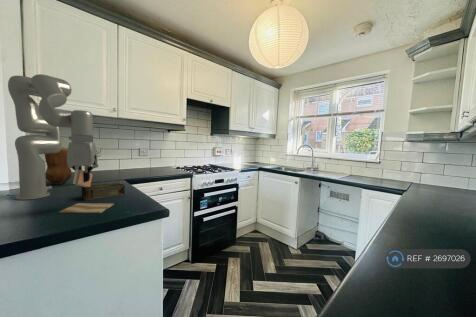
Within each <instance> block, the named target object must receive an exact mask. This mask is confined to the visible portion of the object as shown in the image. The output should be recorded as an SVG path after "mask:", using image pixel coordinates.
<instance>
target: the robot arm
mask: <svg viewBox="0 0 476 317" xmlns="http://www.w3.org/2000/svg"><path fill="white" fill-rule="evenodd" d="M7 89H8V93H9V95H10V97H11V99H12V101H13V104H14V111H15V118H16V125H17V128H18V129H19V131H20V132H23V133H27V134H29V135H27V134H26V135H21V136H18V137H16V138H15V141H14V146H15V149H16V150H15V151H16V154H17V160H18V161H17V162H18V180H19V185H18V186H19V194H17V195H15V197H14V198H15V200H17V201H18V200H19V201H21V200H23V201H24V200H25V201H27V200H36V199H41V198H46V197H49V196H51V192H50V191H49V190H51V189H52V188H53V186H52V185H47V183H46V182H47V181H46V180H47V179H46V174H45V173H46V161H45V159H43V157H41V156H40V155H45V154H54V153H58V152H60V150H61V147H63V146H62V145H63V144H62V137H61V136H62V135H61V128H68V129H70V132H71V134H70V136H68V140H69V141H70V142H69V143H68V147H67V164H68V165H67V166H68V167H69V168H70V169H71V170H74V172H75V171H76V170H83V168H84V170H83V171H84V172H85V173H83V175H84V182H87V181H89V179H90V173H91V172H92V171H93V170H94V169H96V168H99V164H98V153H97V147H96V143H94V116H93V113H92V112H91V111H88V110H82V109H81V110H80V109H75V110H74V109H73V110H67V109H61V108H59V107H62V106H64V105H65V104H67V100H68V97H70V95H71V94H72V91H73V90H72V86H71V84H70V83H69V82H68V81H67V80H65V79H62V78H58V77H55V76H50V75H47V74H35V75H33V76H32V77H31V76H30V77H29V76H23V75H12V76H10V77H9V79H8V81H7ZM31 96H32V97H31ZM33 97H39V98H40V101H39V103H38V102H36V100H35V99H33ZM32 134H34V135H32ZM35 134H44V135H35Z"/></svg>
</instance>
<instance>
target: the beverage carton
mask: <svg viewBox="0 0 476 317" xmlns="http://www.w3.org/2000/svg"><path fill="white" fill-rule="evenodd" d="M125 189H126V185H125V184H123V183H121V182H115V183H105V184H96V185H95V184H94V185H93V184H92V185H90V187H83V186H81V191H80V192H81V198H82V200H83V201H93V200H97V199H105V198H110V197H118V195H119V196H124V195H123V194H125V195H126V193H125V192H126V190H125Z"/></svg>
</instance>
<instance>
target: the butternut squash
mask: <svg viewBox="0 0 476 317" xmlns="http://www.w3.org/2000/svg"><path fill="white" fill-rule="evenodd" d="M67 150H68V147H65V146H61V150H60V152H58V153H54V154H44V160H45V164H46V169H45V174H46V180H47V181H48V182H50V183H51V184H53V185H65V184H66V183H67V182H68V181H69V180H70V179H71V178H72V176H73V171H72V168H69V167H68V166H67V165H68V164H67Z"/></svg>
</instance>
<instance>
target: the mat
mask: <svg viewBox="0 0 476 317" xmlns="http://www.w3.org/2000/svg"><path fill="white" fill-rule="evenodd" d="M114 205H115V203H114V202H110V203H109V202H107V203H106V202H103V203H102V202H97V203H96V202H94V203H92V202H81V203H80V202H78V203H75V204H73V205H71V206H69V207H66V208H63V209H61V210H60V211H58V214H101V213H103V212H105V211H106V210H108V209H109V208H111V207H112V206H114Z"/></svg>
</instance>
